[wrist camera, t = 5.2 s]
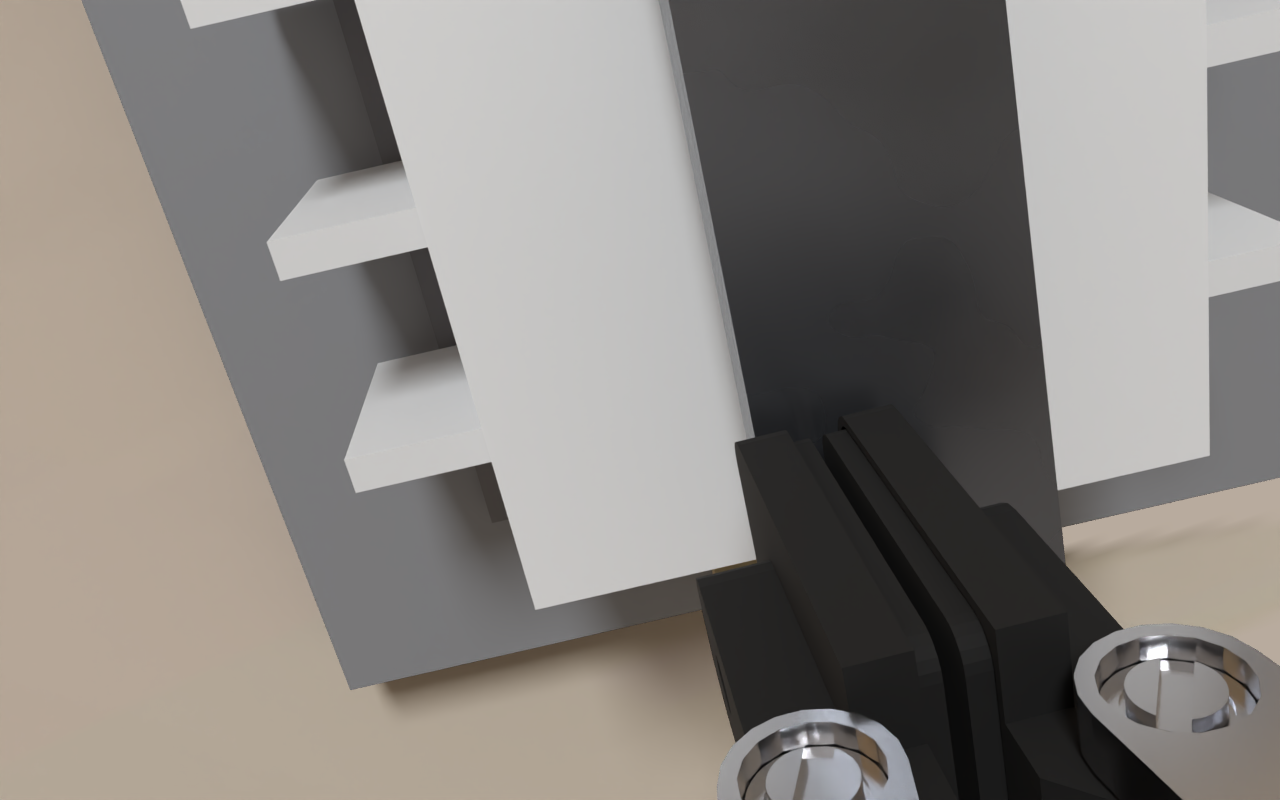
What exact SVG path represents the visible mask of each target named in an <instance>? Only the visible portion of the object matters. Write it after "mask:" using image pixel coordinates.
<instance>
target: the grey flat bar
mask: <svg viewBox="0 0 1280 800" xmlns="http://www.w3.org/2000/svg"><path fill="white" fill-rule="evenodd" d="M659 5H660V10H661V15H662V20H663V25H664V30H665V35H666V40H667V45H668V50H669V55H670V60H671V65H672V70H673V75H674V80H675V85H676V90H677V95H678V100H679V105H680V110H681V115H682V120H683V125H684V130H685V135H686V139H687V144H688V149H689V154H690V159H691V164H692V169H693V174H694V179H695V184H696V189H697V194H698V199H699V204H700V209H701V214H702V219H703V224H704V229H705V234H706V239H707V244H708V249H709V254H710V259H711V264H712V269H713V274H714V279H715V284H716V289H717V294H718V299H719V304H720V309H721V314H722V319H723V324H724V329H725V334H726V339H727V344H728V349H729V354H730V359H731V364H732V369H733V374H734V379H735V384H736V389H737V394H738V399H739V404H740V409H741V414H742V419H743V424H744V428H745V433H746V438H747V439H750V438H754V437H758V436H762V435H766V434H770V433H774V432H779V431H783V430H787V432H788V433H789V435H790V436H791V438H792V440H793V442H795V441H799V440H804V439H808V438H810V440H811V441H812V442H813V444H814V446H815V447H816V449H817V451H818V452H819V454H820V455H821V457H822V459H823V460H824V462H825V458H824V452H823V444H822V437H823V435H824V434H828V433H832V432H836V431H838V419H839V417H840V416H844V415H848V414H852V413H856V412H860V411H865V410H869V409H873V408H877V407H881V406H885V405H889V404H892V405H893V406H894V407H895V408H896V409H897V410H898V411H899V412H900V413H901V415H902V416H903V417H904V418H905V419H906V421H907V422H908V423H909V424H910V425H911V427H912V428H913V429H914V430H915V431H916V432H917V434H918V435H919V436H920V437H921V438H922V440H923V441H924V442H925V443H926V444H927V446H928V447H929V448H930V449H931V450H932V452H933V453H934V454H935V455H936V456H937V457H938V459H939V460H940V461H941V462H942V463H943V465H944V466H945V467H946V468H947V469H948V471H949V472H950V473H951V474H952V475H953V476H954V478H955V479H956V480H957V481H958V482H959V484H960V485H961V486H962V487H963V488H964V490H965V491H966V492H967V493H968V494H969V496H970V497H971V498H972V499H973V500H974V501H975V503H976V504H977V505H978V506H979V507H980V508H981V507H985V506H989V505H993V504H997V503H1008V504H1010V505H1011V506H1012V507H1013V508H1014V509H1016V510H1017V512H1018V513H1019V514H1020V515H1021V516H1022V517H1023V518H1024V519H1025V520H1026V522H1027V523H1028V524H1029V525H1030V526H1031V527H1032V528H1033V529H1034V530H1035V531H1036V533H1037V534H1038V535H1039V536H1040V537H1041V538H1042V539H1043V540H1044V541H1045V543H1046V544H1047V545H1048V546H1049V547H1050V548H1051V549H1052V550H1053V551H1054V553H1055V554H1056V555H1057V556H1058V557H1059V558H1060V559H1061V560H1062V561H1063V563H1064V564H1065V555H1064V545H1063V536H1062V526H1061V517H1060V508H1059V498H1058V489H1057V479H1056V470H1055V460H1054V451H1053V442H1052V432H1051V423H1050V413H1049V404H1048V395H1047V385H1046V376H1045V366H1044V357H1043V347H1042V338H1041V329H1040V319H1039V310H1038V300H1037V291H1036V282H1035V272H1034V263H1033V253H1032V244H1031V234H1030V225H1029V216H1028V206H1027V197H1026V187H1025V178H1024V169H1023V159H1022V150H1021V140H1020V131H1019V121H1018V112H1017V103H1016V93H1015V84H1014V74H1013V65H1012V56H1011V46H1010V37H1009V27H1008V18H1007V8H1006V0H659ZM1065 565H1066V564H1065Z"/></svg>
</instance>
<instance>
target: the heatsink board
mask: <svg viewBox="0 0 1280 800" xmlns="http://www.w3.org/2000/svg"><path fill="white" fill-rule="evenodd" d="M82 3H83V5H84V8H85V10H86V13H87V16H88V18H89V21H90V23H91V26H92V28H93V31H94V34H95V36H96V39H97V41H98V44H99V46H100V49H101V52H102V54H103V57H104V59H105V62H106V64H107V67H108V69H109V72H110V75H111V77H112V80H113V82H114V85H115V87H116V90H117V93H118V95H119V98H120V100H121V103H122V105H123V108H124V111H125V113H126V116H127V118H128V121H129V123H130V126H131V128H132V131H133V134H134V136H135V139H136V141H137V144H138V146H139V149H140V152H141V154H142V157H143V159H144V162H145V164H146V167H147V170H148V172H149V175H150V177H151V180H152V182H153V185H154V187H155V190H156V193H157V195H158V198H159V200H160V203H161V205H162V208H163V211H164V213H165V216H166V218H167V221H168V223H169V226H170V229H171V231H172V234H173V236H174V239H175V241H176V244H177V246H178V249H179V252H180V254H181V257H182V259H183V262H184V264H185V267H186V270H187V272H188V275H189V277H190V280H191V282H192V285H193V288H194V290H195V293H196V295H197V298H198V300H199V303H200V305H201V308H202V311H203V313H204V316H205V318H206V321H207V323H208V326H209V329H210V331H211V334H212V336H213V339H214V341H215V344H216V347H217V349H218V352H219V354H220V357H221V359H222V362H223V364H224V367H225V370H226V372H227V375H228V377H229V380H230V382H231V385H232V388H233V390H234V393H235V395H236V398H237V400H238V403H239V406H240V408H241V411H242V413H243V416H244V418H245V421H246V423H247V426H248V429H249V431H250V434H251V436H252V439H253V441H254V444H255V447H256V449H257V452H258V454H259V457H260V459H261V462H262V465H263V467H264V470H265V472H266V475H267V477H268V480H269V482H270V485H271V488H272V490H273V493H274V495H275V498H276V500H277V503H278V506H279V508H280V511H281V513H282V516H283V518H284V521H285V524H286V526H287V529H288V531H289V534H290V536H291V539H292V541H293V544H294V547H295V549H296V552H297V554H298V557H299V559H300V562H301V565H302V567H303V570H304V572H305V575H306V577H307V580H308V583H309V585H310V588H311V590H312V593H313V595H314V598H315V600H316V603H317V606H318V608H319V611H320V613H321V616H322V618H323V621H324V624H325V626H326V629H327V631H328V634H329V636H330V639H331V642H332V644H333V647H334V649H335V652H336V654H337V657H338V659H339V662H340V665H341V667H342V670H343V672H344V675H345V677H346V680H347V683H348V685H349V688H350V690H353V689H357V688H362V687H366V686H370V685H375V684H379V683H384V682H388V681H392V680H397V679H401V678H405V677H410V676H414V675H419V674H423V673H427V672H432V671H436V670H440V669H445V668H449V667H454V666H458V665H462V664H467V663H471V662H475V661H480V660H484V659H489V658H493V657H497V656H502V655H506V654H510V653H515V652H519V651H523V650H528V649H532V648H537V647H541V646H545V645H550V644H554V643H558V642H563V641H567V640H572V639H576V638H580V637H585V636H589V635H593V634H598V633H602V632H607V631H611V630H615V629H620V628H624V627H628V626H633V625H637V624H642V623H646V622H650V621H655V620H659V619H663V618H668V617H672V616H677V615H681V614H685V613H690V612H694V611H698V610H702V608H701V603H700V599H699V594H698V589H697V584H696V578H698V577H702V576H706V575H710V574H714V573H718V572H722V571H726V570H731V569H735V568H739V567H743V566H747V565H751V564H755V563H757V560H756V555H755V550H754V545H753V540H752V535H751V530H750V525H749V520H748V515H747V510H746V505H745V500H744V495H743V490H742V485H741V480H740V475H739V470H738V465H737V460H736V455H735V442H738V441H742V440H746V439H747V438H746V433H745V428H744V424H743V419H742V414H741V409H740V404H739V399H738V394H737V389H736V384H735V379H734V374H733V369H732V364H731V359H730V354H729V349H728V344H727V339H726V334H725V329H724V324H723V319H722V314H721V309H720V304H719V299H718V294H717V289H716V284H715V279H714V274H713V269H712V264H711V259H710V254H709V249H708V244H707V239H706V234H705V229H704V224H703V219H702V214H701V209H700V204H699V199H698V194H697V189H696V184H695V179H694V174H693V169H692V164H691V159H690V154H689V149H688V144H687V139H686V135H685V130H684V125H683V120H682V115H681V110H680V105H679V100H678V95H677V90H676V85H675V80H674V75H673V70H672V65H671V60H670V55H669V50H668V45H667V40H666V35H665V30H664V25H663V20H662V15H661V10H660V5H659V0H82ZM1006 8H1007V18H1008V27H1009V37H1010V46H1011V56H1012V65H1013V74H1014V84H1015V93H1016V103H1017V112H1018V121H1019V131H1020V140H1021V150H1022V159H1023V169H1024V178H1025V187H1026V197H1027V206H1028V216H1029V225H1030V234H1031V244H1032V253H1033V263H1034V272H1035V282H1036V291H1037V300H1038V310H1039V319H1040V329H1041V338H1042V347H1043V357H1044V366H1045V376H1046V385H1047V395H1048V404H1049V413H1050V423H1051V432H1052V442H1053V451H1054V460H1055V470H1056V479H1057V489H1058V498H1059V508H1060V517H1061V526H1062V527H1065V526H1070V525H1074V524H1079V523H1083V522H1087V521H1092V520H1096V519H1101V518H1105V517H1109V516H1114V515H1118V514H1122V513H1127V512H1131V511H1135V510H1140V509H1144V508H1149V507H1153V506H1157V505H1162V504H1166V503H1171V502H1175V501H1179V500H1184V499H1188V498H1192V497H1196V496H1201V495H1205V494H1210V493H1214V492H1218V491H1223V490H1227V489H1232V488H1236V487H1240V486H1245V485H1249V484H1254V483H1258V482H1262V481H1267V480H1271V479H1275V478H1280V0H1006Z"/></svg>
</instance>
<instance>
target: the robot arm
mask: <svg viewBox="0 0 1280 800" xmlns="http://www.w3.org/2000/svg"><path fill="white" fill-rule="evenodd" d="M822 444H823V452H824V458H825V462H824V460H823V459H822V457H821V455H820V454H819V452H818V451H817V449H816V447H815V446H814V444H813V442H812V441H811V440H810V438H808V439H804V440H799V441H795V442H793V440H792V438H791V436H790V435H789V433H788V432H787V430H783V431H779V432H774V433H770V434H766V435H762V436H758V437H754V438H750V439H746V440H742V441H738V442H735V455H736V460H737V465H738V470H739V475H740V480H741V485H742V490H743V495H744V500H745V505H746V510H747V515H748V520H749V525H750V530H751V535H752V540H753V545H754V550H755V555H756V560H757V563H755V564H751V565H747V566H743V567H739V568H735V569H731V570H726V571H722V572H718V573H714V574H710V575H706V576H702V577H698V578H696V584H697V589H698V594H699V599H700V603H701V608H702V612H703V617H704V621H705V625H706V630H707V634H708V638H709V643H710V647H711V651H712V655H713V660H714V664H715V668H716V672H717V676H718V680H719V684H720V688H721V692H722V695H723V699H724V703H725V707H726V710H727V714H728V718H729V721H730V725H731V728H732V732H733V735H734V739H735V742H736V743H735V744H734V745H733V746H732V748H731V749H730V751H729V752H728V754H727V756H726V757H725V759H724V761H723V762H722V764H721V767H720V772H719V778H718V784H717V797H718V800H1280V666H1279V665H1277V664H1276V663H1274V662H1273V661H1272V660H1270V659H1269V658H1268V657H1266V656H1265V655H1263V654H1262V653H1261V652H1259V651H1258V650H1256V649H1254V648H1252V647H1251V646H1249V645H1247V644H1245V643H1243V642H1241V641H1239V640H1238V639H1236V638H1234V637H1232V636H1229V635H1226V634H1223V633H1219V632H1216V631H1213V630H1210V629H1206V628H1203V627H1196V626H1188V625H1180V624H1152V625H1140V626H1136V627H1131V628H1127V629H1123V628H1122V627H1121V626H1120V625H1119V624H1118V622H1117V621H1116V620H1115V619H1114V618H1113V617H1112V616H1111V615H1110V614H1109V612H1108V611H1107V610H1106V609H1105V608H1104V607H1103V606H1102V605H1101V604H1100V602H1099V601H1098V600H1097V599H1096V598H1095V597H1094V596H1093V595H1092V594H1091V593H1090V591H1089V590H1088V589H1087V588H1086V587H1085V586H1084V585H1083V584H1082V583H1081V581H1080V580H1079V579H1078V578H1077V577H1076V576H1075V575H1074V574H1073V573H1072V571H1071V570H1070V569H1069V568H1068V567H1067V566H1066V565H1065V564H1064V563H1063V561H1062V560H1061V559H1060V558H1059V557H1058V556H1057V555H1056V554H1055V553H1054V551H1053V550H1052V549H1051V548H1050V547H1049V546H1048V545H1047V544H1046V543H1045V541H1044V540H1043V539H1042V538H1041V537H1040V536H1039V535H1038V534H1037V533H1036V531H1035V530H1034V529H1033V528H1032V527H1031V526H1030V525H1029V524H1028V523H1027V522H1026V520H1025V519H1024V518H1023V517H1022V516H1021V515H1020V514H1019V513H1018V512H1017V510H1016V509H1014V508H1013V507H1012V506H1011V505H1010V504H1008V503H997V504H993V505H989V506H985V507H981V508H980V507H979V506H978V505H977V504H976V503H975V501H974V500H973V499H972V498H971V497H970V496H969V494H968V493H967V492H966V491H965V490H964V488H963V487H962V486H961V485H960V484H959V482H958V481H957V480H956V479H955V478H954V476H953V475H952V474H951V473H950V472H949V471H948V469H947V468H946V467H945V466H944V465H943V463H942V462H941V461H940V460H939V459H938V457H937V456H936V455H935V454H934V453H933V452H932V450H931V449H930V448H929V447H928V446H927V444H926V443H925V442H924V441H923V440H922V438H921V437H920V436H919V435H918V434H917V432H916V431H915V430H914V429H913V428H912V427H911V425H910V424H909V423H908V422H907V421H906V419H905V418H904V417H903V416H902V415H901V413H900V412H899V411H898V410H897V409H896V408H895V407H894V406H893V405H892V404H889V405H885V406H881V407H877V408H873V409H869V410H865V411H860V412H856V413H852V414H848V415H844V416H840V417H839V419H838V431H836V432H832V433H828V434H824V435H823V437H822Z"/></svg>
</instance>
